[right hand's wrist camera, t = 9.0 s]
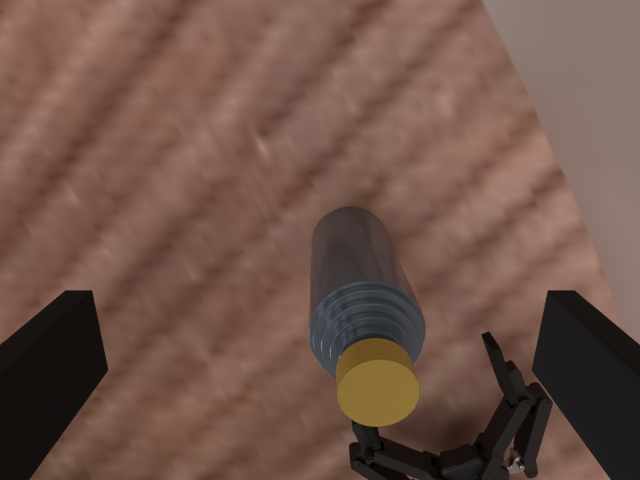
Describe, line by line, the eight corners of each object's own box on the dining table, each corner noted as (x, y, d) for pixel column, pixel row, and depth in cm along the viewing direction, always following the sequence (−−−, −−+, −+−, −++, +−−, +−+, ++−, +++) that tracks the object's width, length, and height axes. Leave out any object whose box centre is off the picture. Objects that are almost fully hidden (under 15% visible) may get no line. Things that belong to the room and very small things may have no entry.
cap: (387, 411, 26) (392, 437, 24) (322, 383, 25) (322, 408, 23) (426, 356, 24) (435, 380, 23) (359, 325, 24) (363, 347, 22)
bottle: (363, 289, 45) (401, 462, 25) (298, 258, 44) (282, 413, 24) (401, 228, 43) (477, 364, 23) (334, 193, 42) (350, 304, 21)
